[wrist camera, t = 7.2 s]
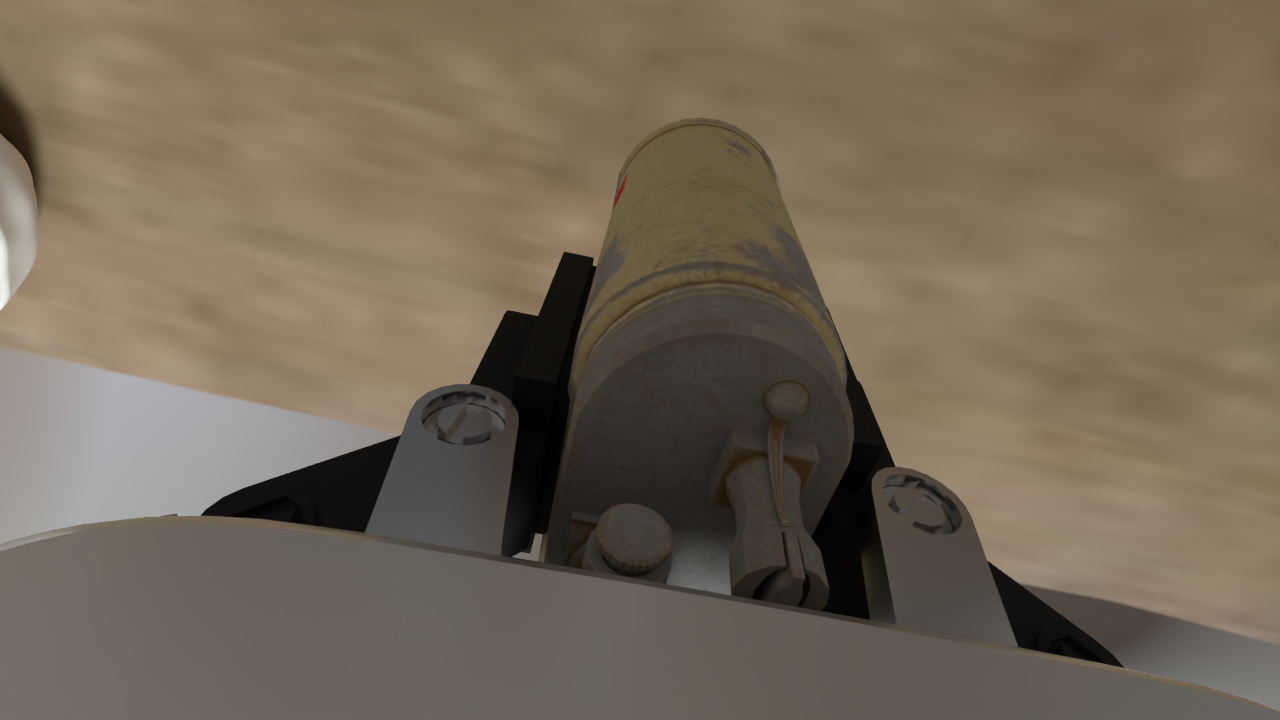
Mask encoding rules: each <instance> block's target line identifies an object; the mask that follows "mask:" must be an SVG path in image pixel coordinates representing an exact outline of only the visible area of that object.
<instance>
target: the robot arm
mask: <svg viewBox="0 0 1280 720" xmlns="http://www.w3.org/2000/svg"><path fill="white" fill-rule="evenodd" d="M596 269H597V266H593V258H592V257H587V256H582V255H578V254H573V253H568V252H564V253H563V256H562V258H561V261H560V263H559V266H558V268H557V271H556V273H555V276H554V278H553V280H552V283H551V285H550V288H549V290H548V293H547V295H546V298H545V300H544V303H543V305H542V308H541V310H540V313H539V315H538V316H535V315H530V314H525V313H520V312H515V311H510V310H508V311H506V313H505V314H504V316H503V318H502V320H501V322H500V324H499V326H498V328H497V330H496V332H495V334H494V336H493V338H492V340H491V342H490V344H489V346H488V348H487V350H486V352H485V354H484V356H483V358H482V360H481V362H480V364H479V366H478V368H477V370H476V372H475V375H474V377H473V379H472V381H471V383H470V385H469V384H456V385H450V386H445V387H440V388H438V389H435V390H433V391H430V392H428V393H426V394H425V395H424V396H422V397H421V398H420V399H418V400H417V401H416V403H415V404H414V406H413V407H412V409H411V411H410V413H409V416H408V418H407V421H406V424H405V426H404V429H403V432H402V434H401V435H400V436H397V437H395V438H392V439H389V440H386V441H383V442H380V443H377V444H374V445H371V446H368V447H365V448H362V449H359V450H356V451H353V452H350V453H347V454H344V455H341V456H338V457H335V458H332V459H329V460H326V461H323V462H320V463H317V464H314V465H311V466H308V467H305V468H302V469H299V470H296V471H293V472H290V473H287V474H284V475H281V476H278V477H275V478H272V479H269V480H266V481H263V482H260V483H258V484H255V485H252V486H249V487H246V488H243V489H241V490H238V491H236V492H234V493H232V494H229V495H227V496H225V497H223V498H222V499H220V500H219V501H217V502H216V503H215V504H213V505H212V506H210V507H209V508H207V509H206V510H205V511H204V512H203V514H202V515H201V516H178V515H177V514H171V515H166V516H160V517H144V518H134V519H126V520H117V521H109V522H100V523H91V524H83V525H77V526H73V527H67V528H62V529H57V530H52V531H47V532H43V533H39V534H35V535H31V536H27V537H23V538H19V539H15V540H12V541H9V542H7V543H4V544H1V545H0V720H1280V712H1279V711H1277V710H1274V709H1271V708H1269V707H1266V706H1264V705H1261V704H1258V703H1256V702H1253V701H1250V700H1248V699H1245V698H1242V697H1238V696H1235V695H1232V694H1228V693H1225V692H1221V691H1218V690H1214V689H1211V688H1208V687H1204V686H1201V685H1197V684H1193V683H1188V682H1184V681H1180V680H1175V679H1171V678H1166V677H1162V676H1157V675H1153V674H1148V673H1144V672H1139V671H1135V670H1130V669H1126V668H1124V667H1123V666H1122V665H1121V663H1120V662H1119V661H1118V660H1117V659H1116V658H1115V657H1114V656H1113V655H1112V654H1111V653H1110V652H1109V651H1108V650H1106V649H1105V648H1104V647H1103V646H1102V645H1100V644H1099V643H1098V642H1097V641H1096V640H1094V639H1093V638H1092V637H1090V636H1089V635H1088V634H1086V633H1085V632H1083V631H1082V630H1081V629H1079V628H1078V627H1077V626H1075V625H1074V624H1073V623H1071V622H1070V621H1068V620H1067V619H1066V618H1064V617H1063V616H1062V615H1060V614H1059V613H1058V612H1056V611H1055V610H1054V609H1052V608H1051V607H1050V606H1048V605H1047V604H1045V603H1044V602H1043V601H1041V600H1040V599H1039V598H1037V597H1036V596H1035V595H1033V594H1032V593H1030V592H1029V591H1028V590H1026V589H1025V588H1024V587H1022V586H1021V585H1020V584H1018V583H1017V582H1016V581H1014V580H1013V579H1011V578H1010V577H1009V576H1007V575H1006V574H1005V573H1003V572H1002V571H1001V570H999V569H998V568H996V567H995V566H994V565H992V564H991V563H990V562H988V561H987V559H986V556H985V554H984V551H983V548H982V545H981V542H980V540H979V537H978V534H977V531H976V529H975V526H974V523H973V520H972V517H971V516H970V514H969V512H968V510H967V508H966V506H965V505H964V504H963V502H962V501H961V500H960V499H959V498H958V497H957V496H956V495H955V493H953V492H952V491H951V490H950V489H948V488H947V487H946V486H944V485H943V484H942V483H940V482H939V481H937V480H935V479H933V478H932V477H930V476H928V475H926V474H923V473H921V472H918V471H915V470H913V469H908V468H902V467H895V465H894V462H893V460H892V457H891V455H890V452H889V450H888V448H887V445H886V443H885V440H884V438H883V435H882V433H881V431H880V428H879V426H878V423H877V421H876V419H875V416H874V414H873V411H872V409H871V406H870V404H869V402H868V399H867V397H866V394H865V392H864V390H863V387H862V385H861V384H860V382H859V381H857V379H856V377H855V374H854V372H853V369H852V367H851V364H850V362H849V359H848V357H847V355H846V352H845V350H844V347H843V345H842V342H841V340H840V337H839V335H838V332H837V330H836V328H835V330H836V332H837V335H838V337H839V340H840V343H841V345H842V348H843V350H844V353H845V362H846V370H847V383H846V394H847V397H848V400H849V403H850V406H851V409H852V413H853V427H854V441H853V447H852V453H851V458H850V462H849V464H848V466H847V468H846V470H845V472H844V474H843V476H842V478H841V480H840V482H839V484H838V486H837V488H836V490H835V492H834V493H833V495H832V497H831V499H830V501H829V503H828V505H827V507H826V509H825V511H824V513H823V515H822V517H821V519H820V521H819V522H818V524H817V526H816V528H815V530H814V532H813V534H812V536H811V538H812V540H813V541H814V542H815V544H816V545H817V547H818V548H819V549H820V551H821V555H822V560H823V564H824V568H825V573H826V577H827V581H828V586H829V595H828V600H827V605H826V606H825V607H824V608H823V609H822V610H821V611H817V610H811V609H805V608H800V607H794V606H789V605H783V604H777V603H772V602H766V601H761V600H755V599H749V598H744V597H738V596H732V595H727V594H721V593H715V592H710V591H704V590H698V589H693V588H687V587H681V586H676V585H670V584H664V583H659V582H653V581H647V580H642V579H636V578H630V577H624V576H619V575H613V574H607V573H601V572H595V571H589V570H584V569H578V568H572V567H566V566H560V565H554V564H549V563H543V562H537V561H531V560H525V559H519V558H514V557H512V556H513V555H516V554H518V553H520V552H525V553H530V551H531V548H532V544H533V540H534V536H535V533H538V534H543V535H544V534H547V532H548V528H549V522H550V516H551V510H552V504H553V498H554V492H555V486H556V481H557V475H558V469H559V463H560V457H561V451H562V445H563V439H564V434H565V428H566V422H567V416H568V410H569V404H570V398H569V394H568V392H567V391H568V385H569V379H570V373H571V367H572V361H573V356H574V350H575V344H576V341H577V337H578V333H579V330H580V326H581V323H582V319H583V315H584V312H585V308H586V305H587V301H588V297H589V294H590V290H591V287H592V283H593V279H594V276H595V272H596ZM826 308H827V307H826ZM827 310H828V308H827ZM828 312H829V310H828ZM829 315H830V313H829ZM830 317H831V315H830ZM831 320H832V318H831ZM832 322H833V320H832ZM833 325H834V323H833ZM834 327H835V325H834Z"/></svg>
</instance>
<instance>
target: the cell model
mask: <svg viewBox="0 0 1280 720" xmlns="http://www.w3.org/2000/svg"><path fill="white" fill-rule="evenodd" d="M38 243H39V220H38V207H37V200H36V194H35V190H34V185H33V179H32V175H31V171H30V169H29V166H28V164H27V162H26V161H25V159H24V158H23V156H22V155H21V154H20V152H19V151H18V150H17V149H16V148H15V147H14V146H13V145H12V144H11V143H10V142H9V141H8V140H7V139H6V138H5V137H3V136H2V135H1V134H0V310H1V309H2V308H3V307H4V306H5V304H6V303H7V302H8V300H9V299H10V298H11V297H12V295H13V294H14V293H15V292H16V290H17V289H18V288H19V286H20V285H21V284H22V282H23V281H24V279H25V278H26V276H27V275H28V273H29V272H30V270H31V268H32V266H33V264H34V261H35V259H36V255H37V251H38Z"/></svg>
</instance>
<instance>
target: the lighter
mask: <svg viewBox="0 0 1280 720" xmlns="http://www.w3.org/2000/svg"><path fill="white" fill-rule="evenodd" d="M846 383H847V370H846V362H845V353H844V350H843V348H842V345H841V343H840V340H839V337H838V335H837V332H836V330H835V327H834V325H833V322H832V320H831V317H830V315H829V312H828V310H827V308H826V305H825V303H824V300H823V298H822V295H821V293H820V290H819V288H818V285H817V283H816V280H815V278H814V276H813V273H812V271H811V268H810V266H809V263H808V261H807V258H806V256H805V253H804V251H803V248H802V246H801V243H800V241H799V239H798V236H797V234H796V231H795V229H794V226H793V224H792V221H791V219H790V216H789V214H788V211H787V209H786V207H785V204H784V202H783V199H782V197H781V192H780V186H779V180H778V177H777V174H776V172H775V169H774V166H773V164H772V162H771V160H770V158H769V157H768V155H767V154H766V152H765V151H764V149H763V148H762V146H761V145H760V144H759V143H758V142H757V141H756V140H755V139H754V138H752V137H751V136H750V135H749V134H748V133H746V132H744V131H743V130H741V129H739V128H738V127H736V126H734V125H731V124H728V123H726V122H723V121H720V120H713V119H705V118H696V119H685V120H681V121H678V122H674V123H671V124H668V125H666V126H664V127H662V128H660V129H658V130H656V131H655V132H653V133H651V134H650V135H649V136H648V137H646V138H645V139H644V140H643V141H642V142H640V143H639V144H638V145H637V146H636V148H635V149H634V150H633V151H632V153H631V154H630V155H629V156H628V158H627V160H626V162H625V163H624V165H623V167H622V169H621V171H620V173H619V178H618V183H617V188H616V194H615V199H614V205H613V210H612V215H611V218H610V222H609V225H608V229H607V233H606V236H605V240H604V243H603V247H602V251H601V254H600V258H599V261H598V265H597V269H596V272H595V276H594V279H593V283H592V287H591V290H590V294H589V297H588V301H587V305H586V308H585V312H584V315H583V319H582V323H581V326H580V330H579V333H578V337H577V341H576V344H575V350H574V356H573V361H572V367H571V373H570V379H569V385H568V391H567V392H568V394H569V398H570V404H569V410H568V416H567V422H566V428H565V434H564V439H563V445H562V451H561V457H560V463H559V469H558V475H557V481H556V486H555V492H554V498H553V504H552V510H551V516H550V522H549V528H548V532H547V534H544V535H543V537H542V542H541V548H540V554H539V560H538V562H543V563H549V564H554V565H560V566H566V567H572V568H578V569H584V570H589V571H595V572H601V573H607V574H613V575H619V576H624V577H630V578H636V579H642V580H647V581H653V582H659V583H664V584H670V585H676V586H681V587H687V588H693V589H698V590H704V591H710V592H715V593H721V594H727V595H732V596H738V597H744V598H749V599H755V600H761V601H766V602H772V603H777V604H783V605H789V606H794V607H800V608H805V609H811V610H817V611H821V610H822V609H823V608H824V607H825V606H826V605H827V600H828V595H829V586H828V581H827V577H826V573H825V568H824V564H823V560H822V555H821V551H820V549H819V548H818V547H817V545H816V544H815V542H814V541H813V540H812V538H811V536H812V534H813V532H814V530H815V528H816V526H817V524H818V522H819V521H820V519H821V517H822V515H823V513H824V511H825V509H826V507H827V505H828V503H829V501H830V499H831V497H832V495H833V493H834V492H835V490H836V488H837V486H838V484H839V482H840V480H841V478H842V476H843V474H844V472H845V470H846V468H847V466H848V464H849V462H850V458H851V453H852V447H853V441H854V427H853V413H852V409H851V406H850V403H849V400H848V397H847V394H846Z"/></svg>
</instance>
